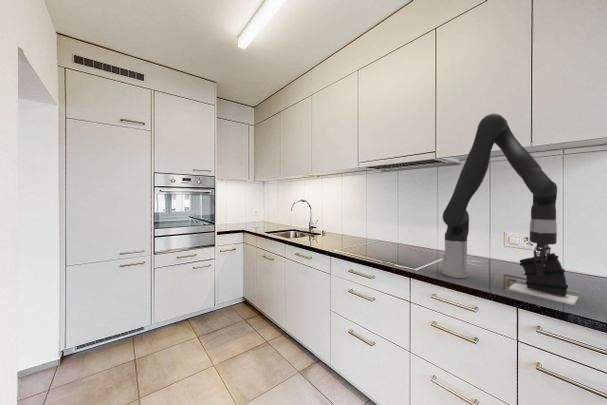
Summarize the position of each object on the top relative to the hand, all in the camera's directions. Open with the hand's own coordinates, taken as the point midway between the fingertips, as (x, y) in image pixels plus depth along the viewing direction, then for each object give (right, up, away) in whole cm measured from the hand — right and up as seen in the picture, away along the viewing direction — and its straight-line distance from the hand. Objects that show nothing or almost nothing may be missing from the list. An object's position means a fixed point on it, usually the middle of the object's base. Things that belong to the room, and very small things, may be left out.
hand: (542, 274), depth 96 cm
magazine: (0, -7, 0) cm, 7 cm away
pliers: (+1, -7, +45) cm, 46 cm away
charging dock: (0, -8, 0) cm, 8 cm away
